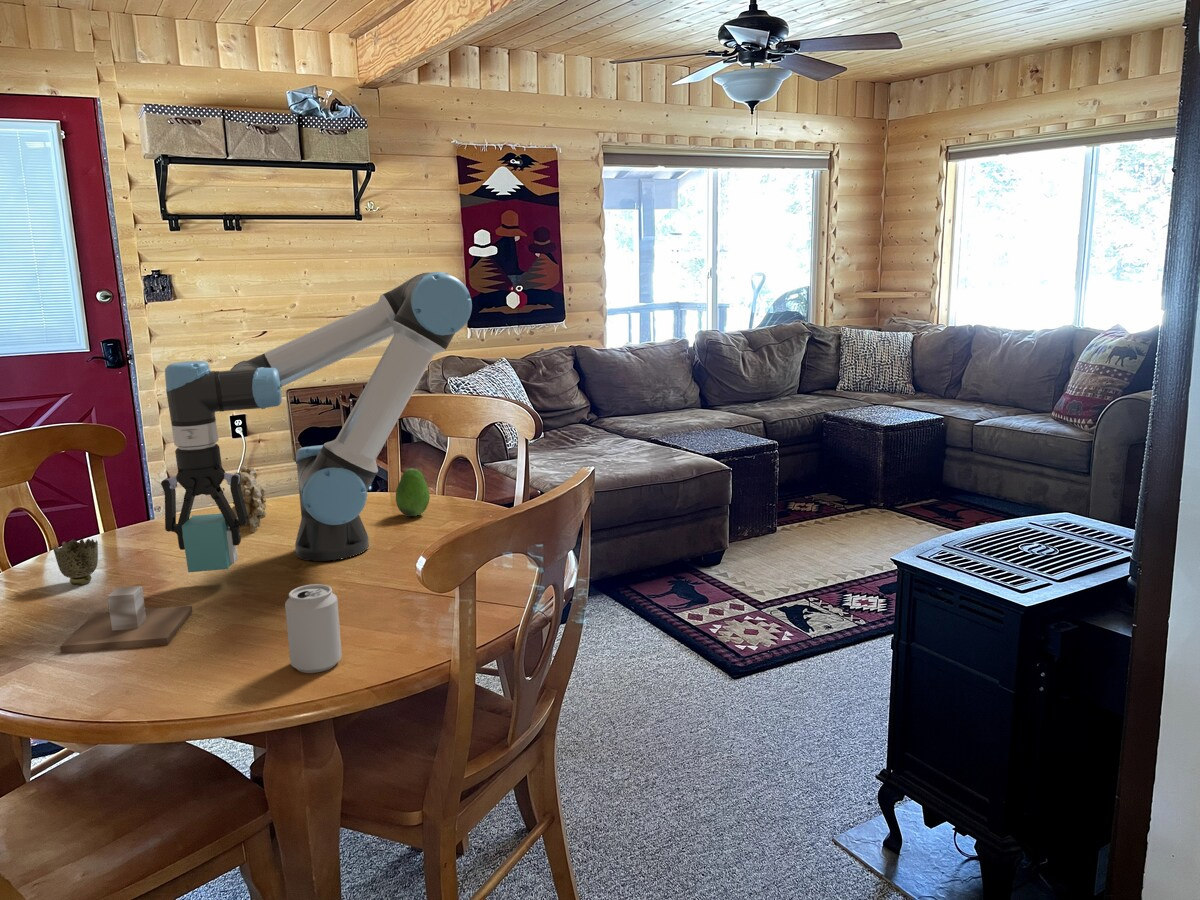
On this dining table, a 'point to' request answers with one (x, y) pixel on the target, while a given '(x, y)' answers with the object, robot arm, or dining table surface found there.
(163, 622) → the peg base
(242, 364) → the robot arm
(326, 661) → the can
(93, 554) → the cup
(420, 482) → the fruit
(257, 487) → the mineral formation
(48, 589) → the dining table surface
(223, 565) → the teal toy cube
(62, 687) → the dining table surface
